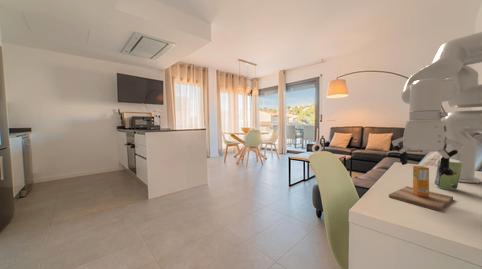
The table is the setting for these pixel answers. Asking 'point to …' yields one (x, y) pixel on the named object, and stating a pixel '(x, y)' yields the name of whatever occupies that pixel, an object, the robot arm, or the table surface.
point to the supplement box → (421, 181)
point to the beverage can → (448, 175)
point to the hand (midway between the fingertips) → (422, 166)
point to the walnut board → (422, 198)
